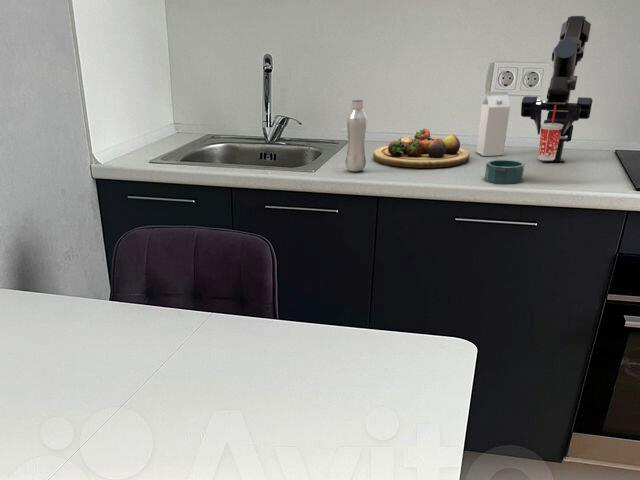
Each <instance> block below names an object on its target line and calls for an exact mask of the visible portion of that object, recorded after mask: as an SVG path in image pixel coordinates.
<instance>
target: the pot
mask: <svg viewBox="0 0 640 480" xmlns="http://www.w3.org/2000/svg"><path fill="white" fill-rule="evenodd" d="M525 165H526V163H524V162H523V161H518V160H512V159H511V160H510V159H495V160H490V161H487V163H486V166H485V173H484V180H485V181H486V182H488V183H492V184H500V185H501V184H503V185H508V184H509V185H510V184H511V185H512V184H518V183H521V182H522V181H523V178H524V177H523V176H524V171H525Z"/></svg>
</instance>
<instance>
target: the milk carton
mask: <svg viewBox="0 0 640 480" xmlns="http://www.w3.org/2000/svg"><path fill="white" fill-rule="evenodd" d="M510 109H511V104H510V98H509V91H506V90H504V91H487V92H486V96H485V97H484V100H483V102H482V104H481V111H480V120H479V127H478V137H477V138H478V139H477V145H476V153H477V154H479V155H481V156H482V157H490V156H491V157H492V156H493V157H495V156H504V153H505V143H506V137H507V130H508V124H509V122H508V121H509V117H510Z"/></svg>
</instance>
